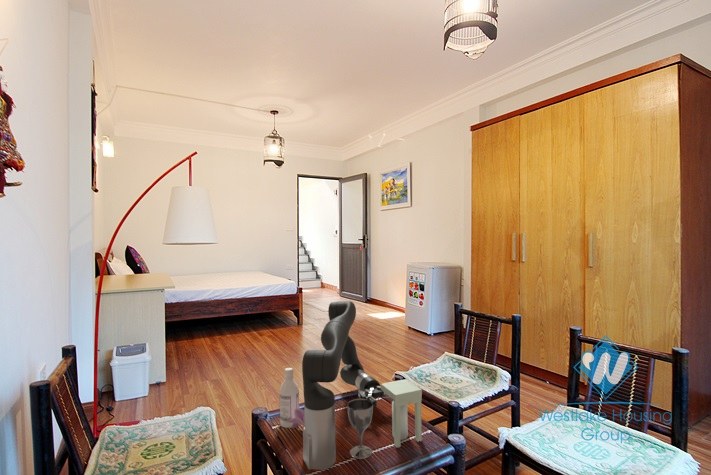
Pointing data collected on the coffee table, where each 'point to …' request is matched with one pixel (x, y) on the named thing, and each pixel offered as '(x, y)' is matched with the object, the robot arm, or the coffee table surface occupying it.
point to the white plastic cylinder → (401, 421)
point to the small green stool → (404, 395)
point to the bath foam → (288, 399)
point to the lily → (298, 418)
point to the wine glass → (360, 424)
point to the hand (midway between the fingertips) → (386, 401)
